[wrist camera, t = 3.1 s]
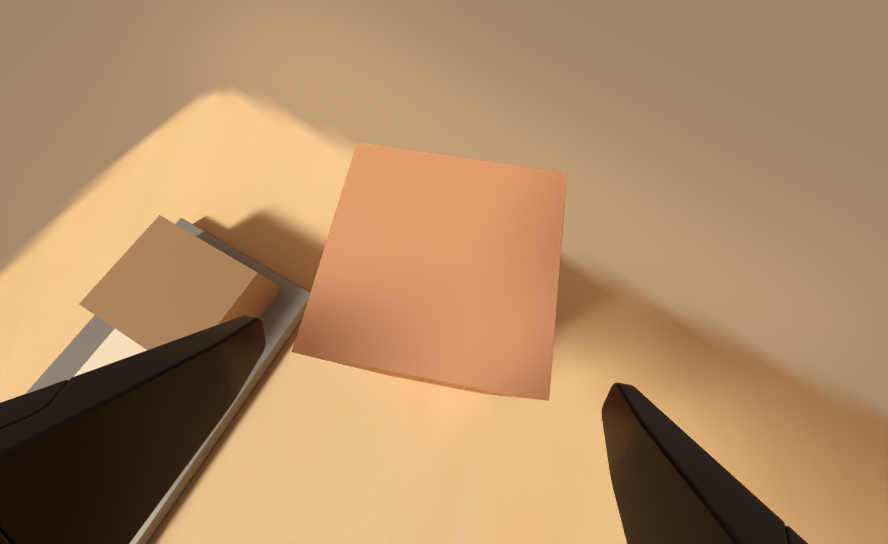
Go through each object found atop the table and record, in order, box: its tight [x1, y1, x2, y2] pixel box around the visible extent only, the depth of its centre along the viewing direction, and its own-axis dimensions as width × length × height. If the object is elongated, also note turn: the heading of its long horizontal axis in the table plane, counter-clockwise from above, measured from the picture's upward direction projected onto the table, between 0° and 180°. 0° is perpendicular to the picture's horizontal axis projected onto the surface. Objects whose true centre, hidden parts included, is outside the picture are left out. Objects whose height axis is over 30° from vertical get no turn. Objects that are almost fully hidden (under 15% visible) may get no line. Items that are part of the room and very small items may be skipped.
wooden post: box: [292, 143, 567, 401], centre depth 12 cm, size 4×4×12 cm
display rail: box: [26, 215, 310, 544], centre depth 15 cm, size 20×9×3 cm, turn 151°
